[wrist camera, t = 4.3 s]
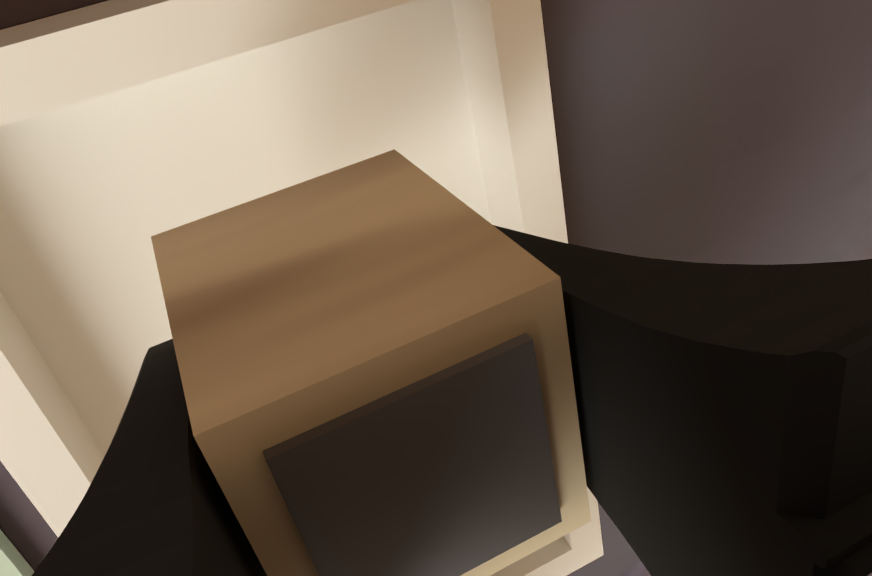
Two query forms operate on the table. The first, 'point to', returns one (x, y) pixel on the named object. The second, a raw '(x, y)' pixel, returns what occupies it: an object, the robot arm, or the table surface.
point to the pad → (12, 560)
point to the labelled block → (376, 377)
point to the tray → (229, 176)
